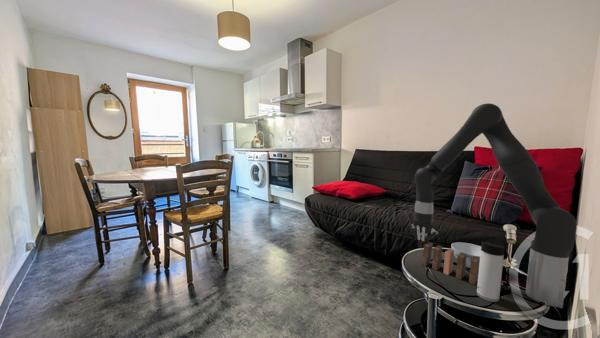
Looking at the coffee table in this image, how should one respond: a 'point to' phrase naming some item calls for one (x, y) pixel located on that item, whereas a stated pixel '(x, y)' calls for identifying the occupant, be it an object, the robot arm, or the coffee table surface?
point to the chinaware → (466, 251)
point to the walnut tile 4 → (474, 270)
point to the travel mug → (490, 271)
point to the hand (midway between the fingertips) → (421, 247)
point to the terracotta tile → (448, 261)
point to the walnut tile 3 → (461, 265)
